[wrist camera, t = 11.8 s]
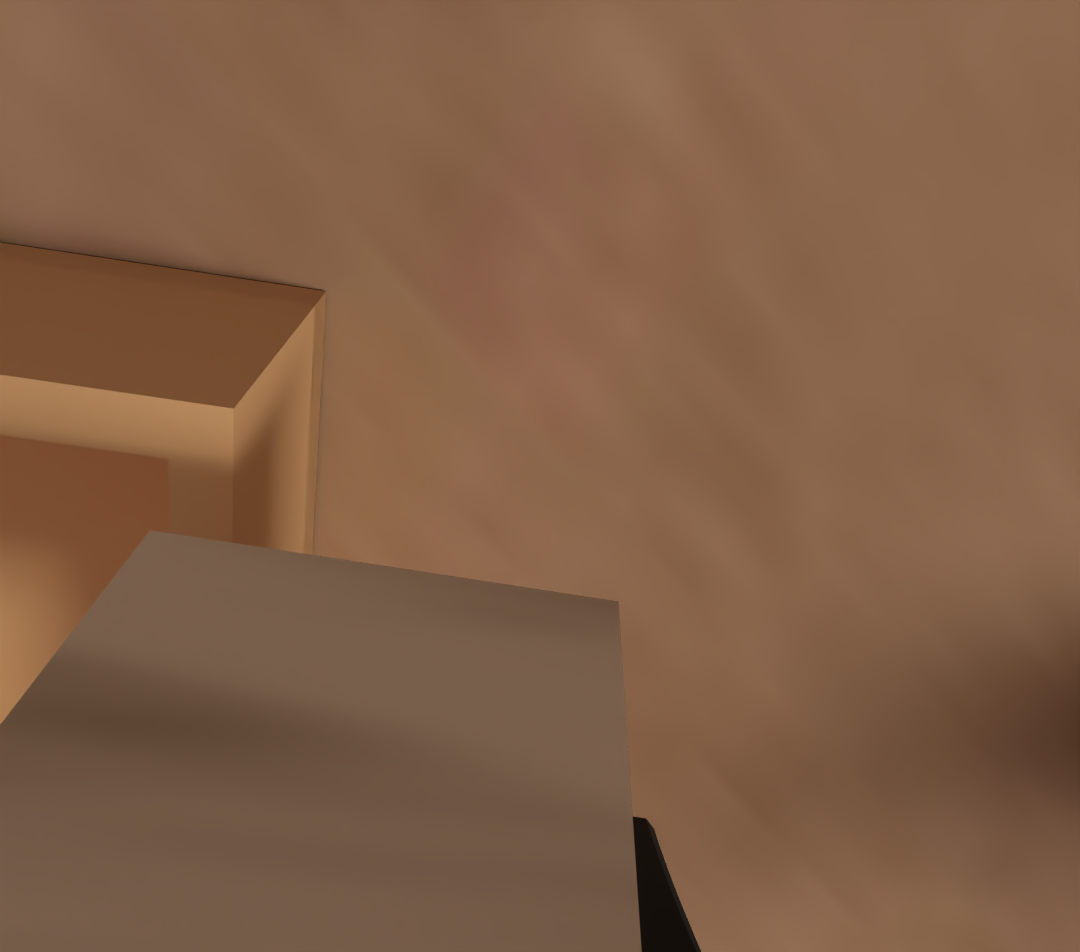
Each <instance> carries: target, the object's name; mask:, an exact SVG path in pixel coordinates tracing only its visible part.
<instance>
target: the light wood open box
mask: <svg viewBox="0 0 1080 952" xmlns="http://www.w3.org/2000/svg"><path fill="white" fill-rule="evenodd" d="M325 306H326V291H320V290H313V289H307V288H300V287H293V286H287V285H280V284H273V283H267V282H260V281H253V280H247V279H240V278H233V277H227V276H220V275H214V274H207V273H200V272H194V271H187V270H180V269H174V268H167V267H160V266H154V265H147V264H140V263H134V262H127V261H120V260H114V259H107V258H100V257H94V256H87V255H80V254H74V253H67V252H60V251H54V250H47V249H40V248H34V247H27V246H20V245H14V244H7V243H0V724H1V723H2V722H3V720H4V719H5V718H6V717H7V715H8V714H9V713H10V711H11V710H12V709H13V707H14V706H15V705H16V704H17V702H18V701H19V700H20V698H21V697H22V696H23V694H24V693H25V692H26V691H27V689H28V688H29V687H30V685H31V684H32V683H33V682H34V680H35V679H36V678H37V676H38V675H39V674H40V672H41V671H42V670H43V669H44V667H45V666H46V665H47V663H48V662H49V661H50V659H51V658H52V657H53V656H54V654H55V653H56V652H57V650H58V649H59V648H60V646H61V645H62V644H63V643H64V641H65V640H66V639H67V637H68V636H69V635H70V633H71V632H72V631H73V630H74V628H75V627H76V626H77V624H78V623H79V622H80V620H81V619H82V618H83V617H84V615H85V614H86V613H87V611H88V610H89V609H90V607H91V606H92V605H93V604H94V602H95V601H96V600H97V598H98V597H99V596H100V595H101V593H102V592H103V591H104V589H105V588H106V587H107V585H108V584H109V583H110V582H111V580H112V579H113V578H114V576H115V575H116V574H117V572H118V571H119V570H120V569H121V567H122V566H123V565H124V563H125V562H126V561H127V559H128V558H129V557H130V556H131V554H132V553H133V552H134V550H135V549H136V548H137V546H138V545H139V544H140V543H141V541H142V540H143V539H144V537H145V536H146V535H147V533H148V532H149V531H150V530H152V531H159V532H165V533H172V534H178V535H185V536H192V537H198V538H205V539H211V540H218V541H224V542H231V543H237V544H244V545H251V546H257V547H264V548H270V549H277V550H283V551H290V552H297V553H303V554H310V555H312V554H313V535H314V516H315V497H316V478H317V459H318V440H319V421H320V402H321V382H322V363H323V344H324V325H325Z"/></svg>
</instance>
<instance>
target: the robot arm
mask: <svg viewBox="0 0 1080 952" xmlns="http://www.w3.org/2000/svg"><path fill="white" fill-rule="evenodd" d="M633 830H634V845H635V860H636V875H637V890H638V905H639V920H640V935H641V950H642V952H701V950H700V948H699V946H698V943H697V941H696V939H695V936H694V934H693V931H692V929H691V927H690V924H689V922H688V919H687V917H686V915H685V912H684V910H683V907H682V905H681V902H680V900H679V897H678V895H677V892H676V890H675V887H674V885H673V882H672V879H671V877H670V874H669V871H668V869H667V866H666V863H665V860H664V857H663V855H662V852H661V849H660V846H659V843H658V840H657V837H656V834H655V831H654V828H653V827H652V826H651V824H650V823H649V822H648V821H647V819H645V818H638V817H633Z"/></svg>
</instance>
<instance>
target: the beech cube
mask: <svg viewBox="0 0 1080 952" xmlns="http://www.w3.org/2000/svg"><path fill="white" fill-rule="evenodd" d="M0 952H642V950H641V935H640V920H639V905H638V890H637V875H636V860H635V845H634V830H633V815H632V800H631V785H630V770H629V755H628V740H627V725H626V710H625V695H624V679H623V664H622V649H621V634H620V619H619V604H618V601H612V600H605V599H599V598H592V597H585V596H579V595H572V594H566V593H559V592H553V591H546V590H539V589H533V588H526V587H520V586H513V585H507V584H500V583H494V582H487V581H480V580H474V579H467V578H461V577H454V576H448V575H441V574H434V573H428V572H421V571H415V570H408V569H402V568H395V567H388V566H382V565H375V564H369V563H362V562H356V561H349V560H343V559H336V558H329V557H323V556H316V555H310V554H303V553H297V552H290V551H283V550H277V549H270V548H264V547H257V546H251V545H244V544H237V543H231V542H224V541H218V540H211V539H205V538H198V537H192V536H185V535H178V534H172V533H165V532H159V531H152V530H150V531H149V532H148V533H147V535H146V536H145V537H144V539H143V540H142V541H141V543H140V544H139V545H138V546H137V548H136V549H135V550H134V552H133V553H132V554H131V556H130V557H129V558H128V559H127V561H126V562H125V563H124V565H123V566H122V567H121V569H120V570H119V571H118V572H117V574H116V575H115V576H114V578H113V579H112V580H111V582H110V583H109V584H108V585H107V587H106V588H105V589H104V591H103V592H102V593H101V595H100V596H99V597H98V598H97V600H96V601H95V602H94V604H93V605H92V606H91V607H90V609H89V610H88V611H87V613H86V614H85V615H84V617H83V618H82V619H81V620H80V622H79V623H78V624H77V626H76V627H75V628H74V630H73V631H72V632H71V633H70V635H69V636H68V637H67V639H66V640H65V641H64V643H63V644H62V645H61V646H60V648H59V649H58V650H57V652H56V653H55V654H54V656H53V657H52V658H51V659H50V661H49V662H48V663H47V665H46V666H45V667H44V669H43V670H42V671H41V672H40V674H39V675H38V676H37V678H36V679H35V680H34V682H33V683H32V684H31V685H30V687H29V688H28V689H27V691H26V692H25V693H24V694H23V696H22V697H21V698H20V700H19V701H18V702H17V704H16V705H15V706H14V707H13V709H12V710H11V711H10V713H9V714H8V715H7V717H6V718H5V719H4V720H3V722H2V723H1V724H0Z"/></svg>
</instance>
